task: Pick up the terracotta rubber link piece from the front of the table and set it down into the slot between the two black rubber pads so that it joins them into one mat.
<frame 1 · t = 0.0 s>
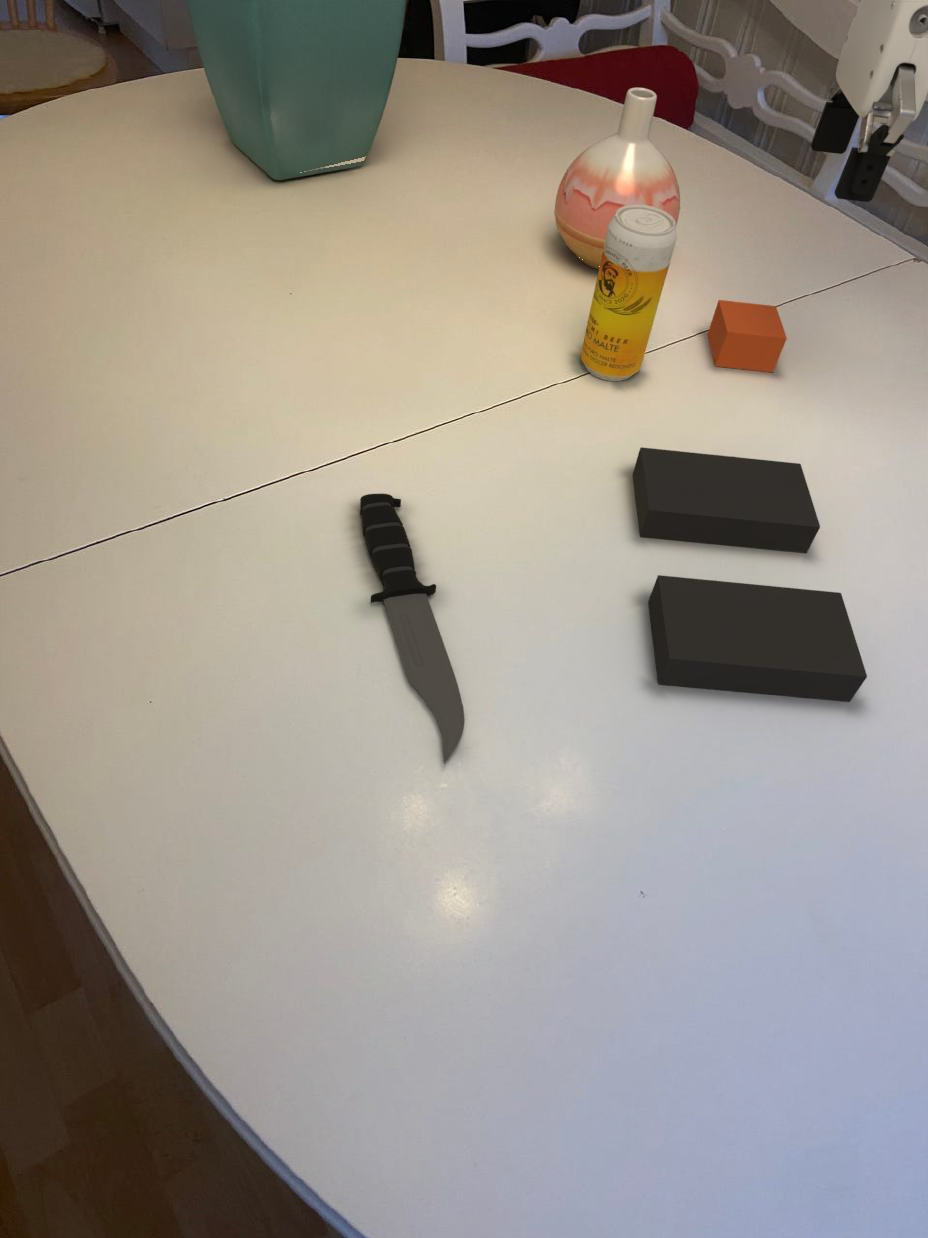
hand: (839, 173, 82), 19 cm above the table, tool pointing down, fingers open, 9 cm apart
knife: (410, 624, 68), on the table
flower pot: (299, 156, 117), on the table
vase: (605, 259, 107), on the table
link piece: (739, 352, 96), on the table
beer can: (608, 367, 92), on the table
pads: (730, 576, 74), on the table
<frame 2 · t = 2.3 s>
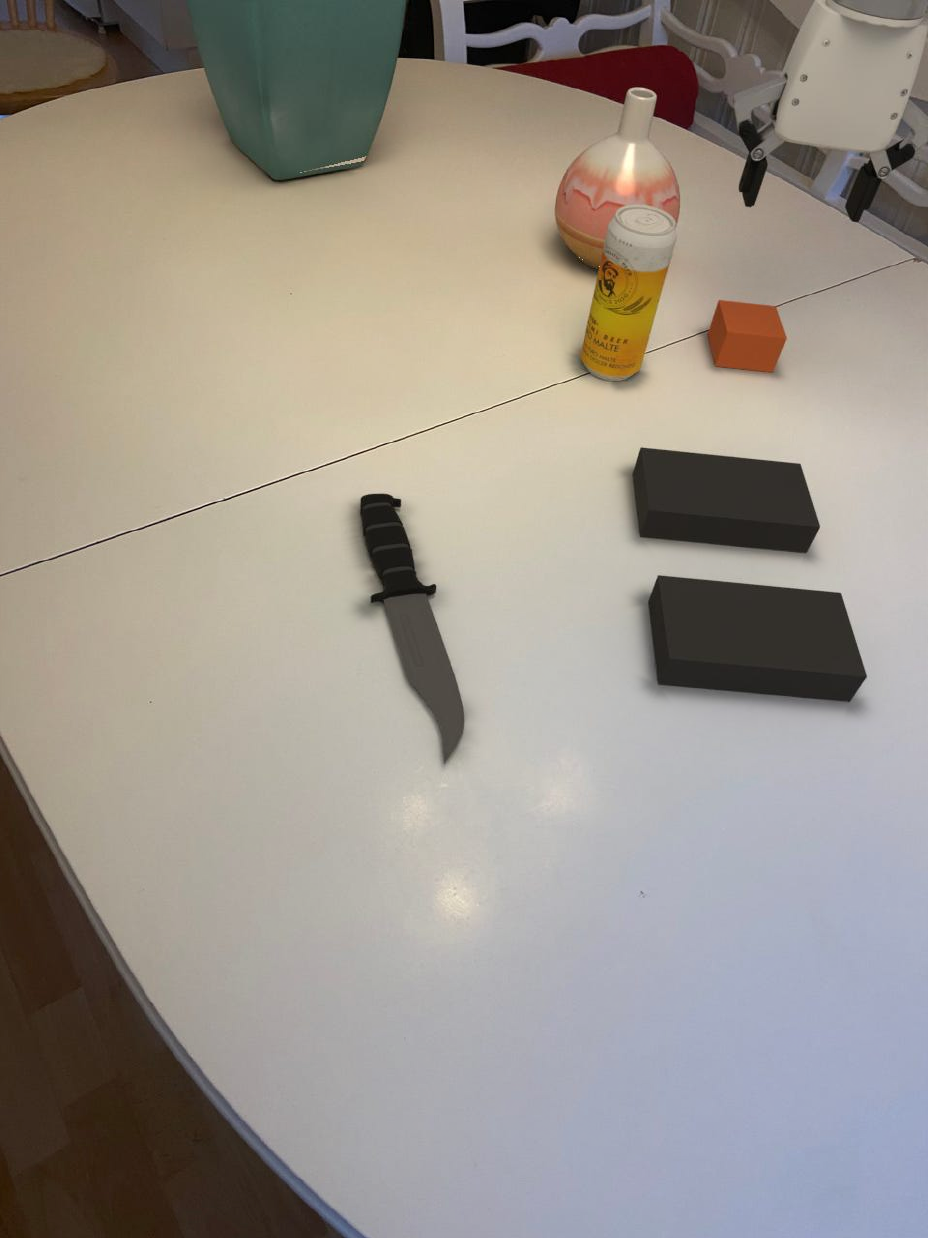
hand: (799, 207, 85), 15 cm above the table, tool pointing down, fingers open, 9 cm apart
nothing on the table moved.
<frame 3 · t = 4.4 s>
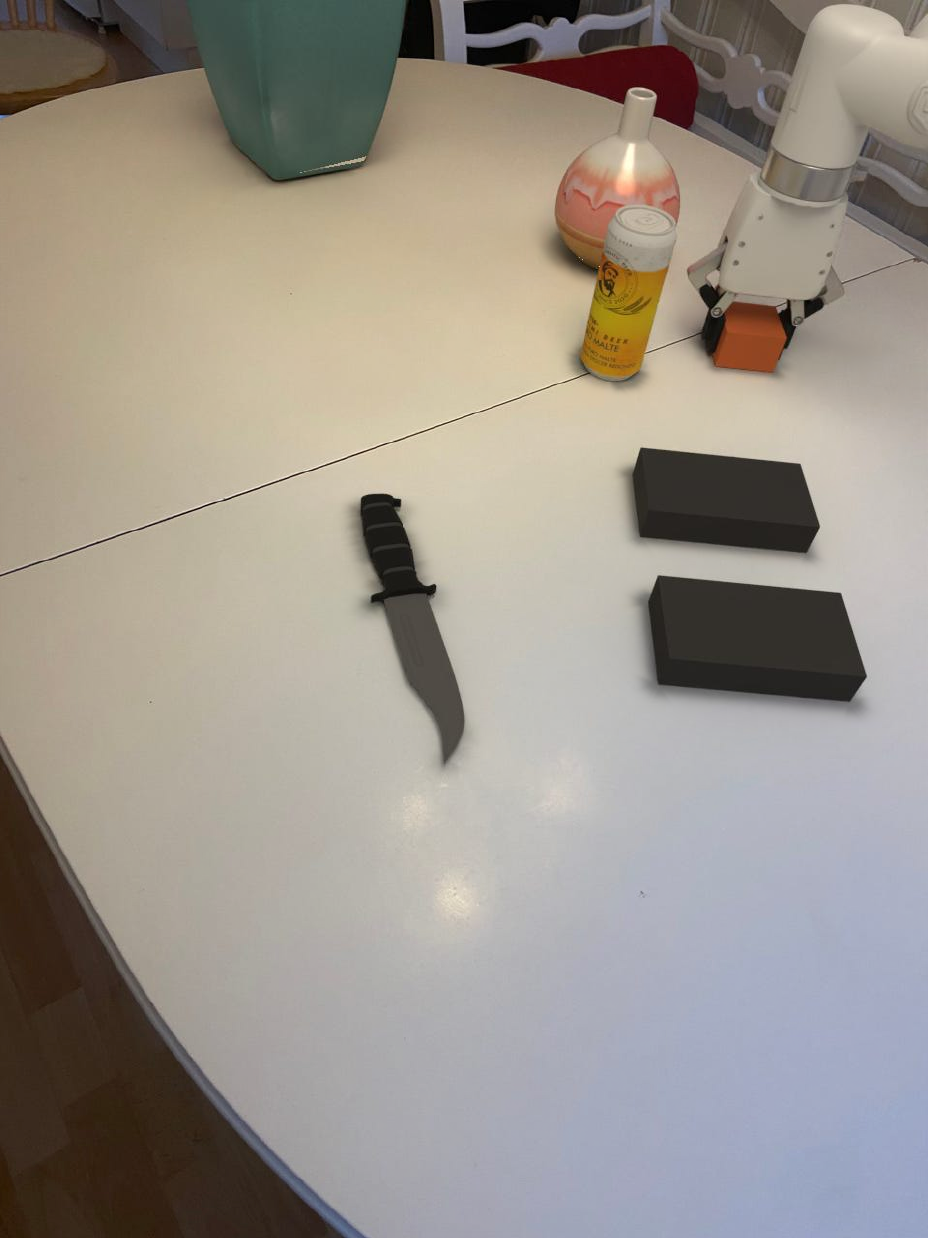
hand: (741, 347, 96), 1 cm above the table, tool pointing down, fingers closed on link piece, 6 cm apart
link piece: (739, 352, 96), on the table, touching gripper
everything else where it was.
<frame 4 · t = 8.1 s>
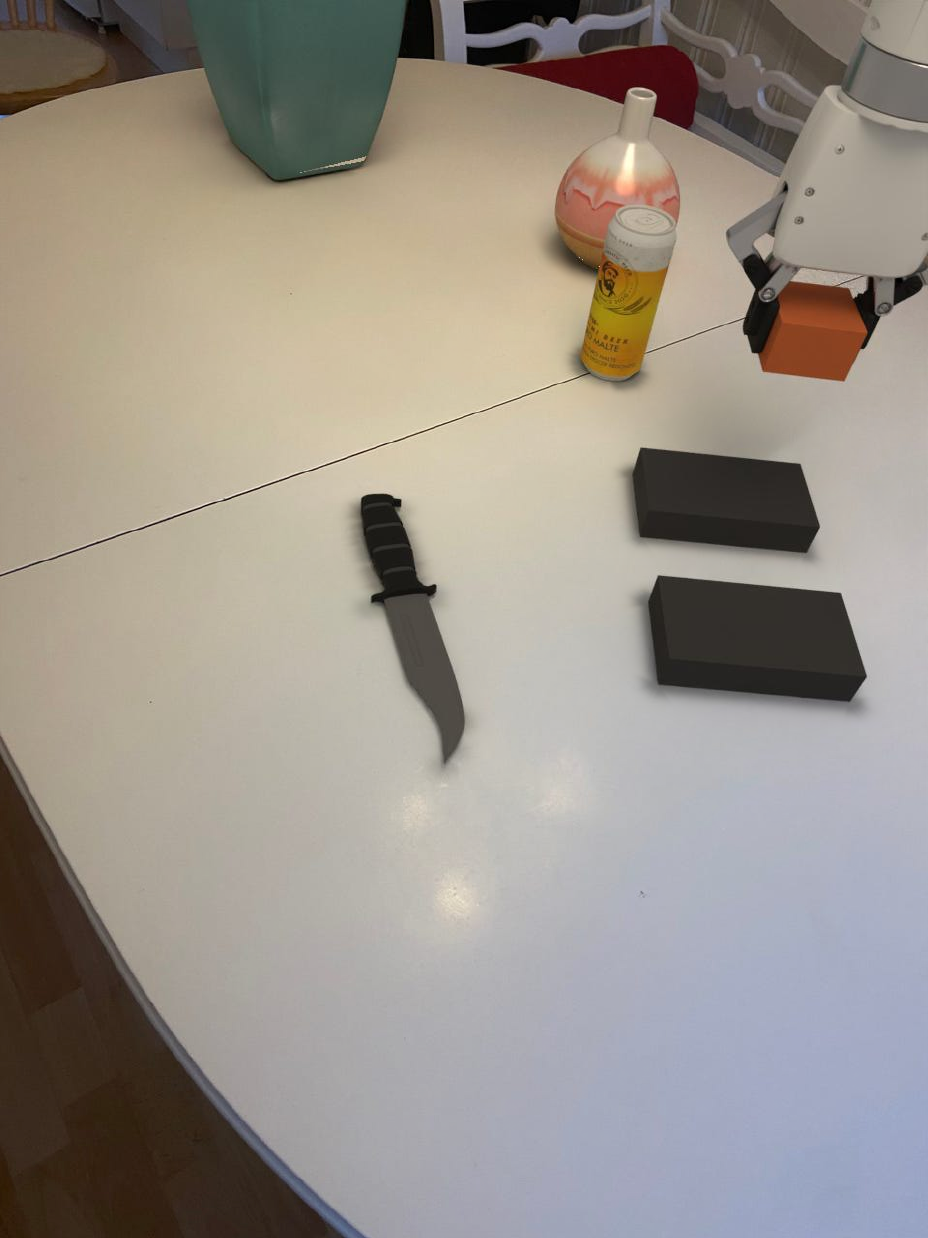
hand: (799, 346, 68), 16 cm above the table, tool pointing down, fingers closed on link piece, 6 cm apart
link piece: (796, 353, 68), point 15 cm above the table, touching gripper
everything else where it was.
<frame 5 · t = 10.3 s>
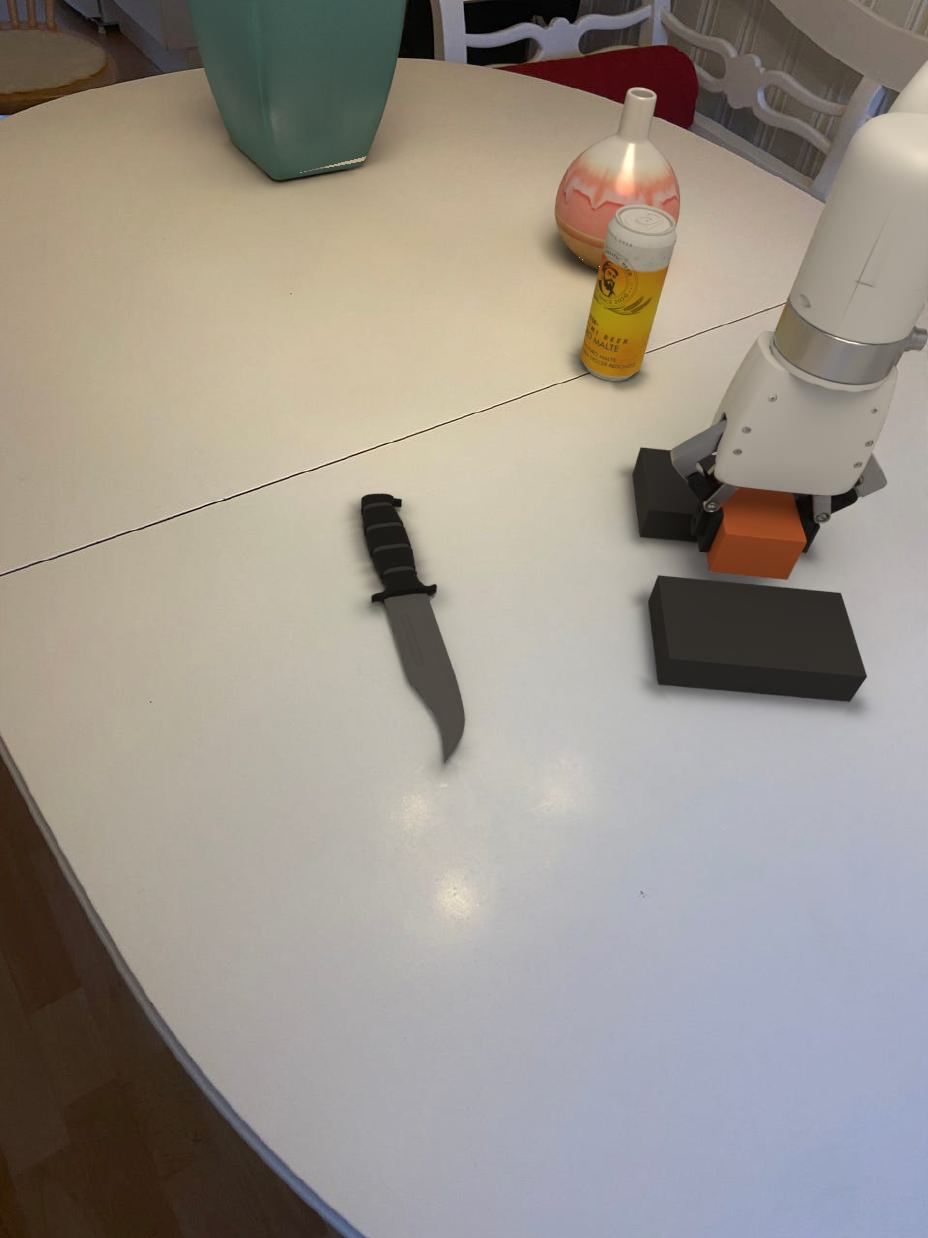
hand: (744, 542, 71), 4 cm above the table, tool pointing down, fingers closed on link piece, 6 cm apart
link piece: (741, 548, 71), point 3 cm above the table, touching gripper
everything else where it was.
when the fingers open (1 cm above the table, at t = 11.7 s): link piece stays where it is, on the table.
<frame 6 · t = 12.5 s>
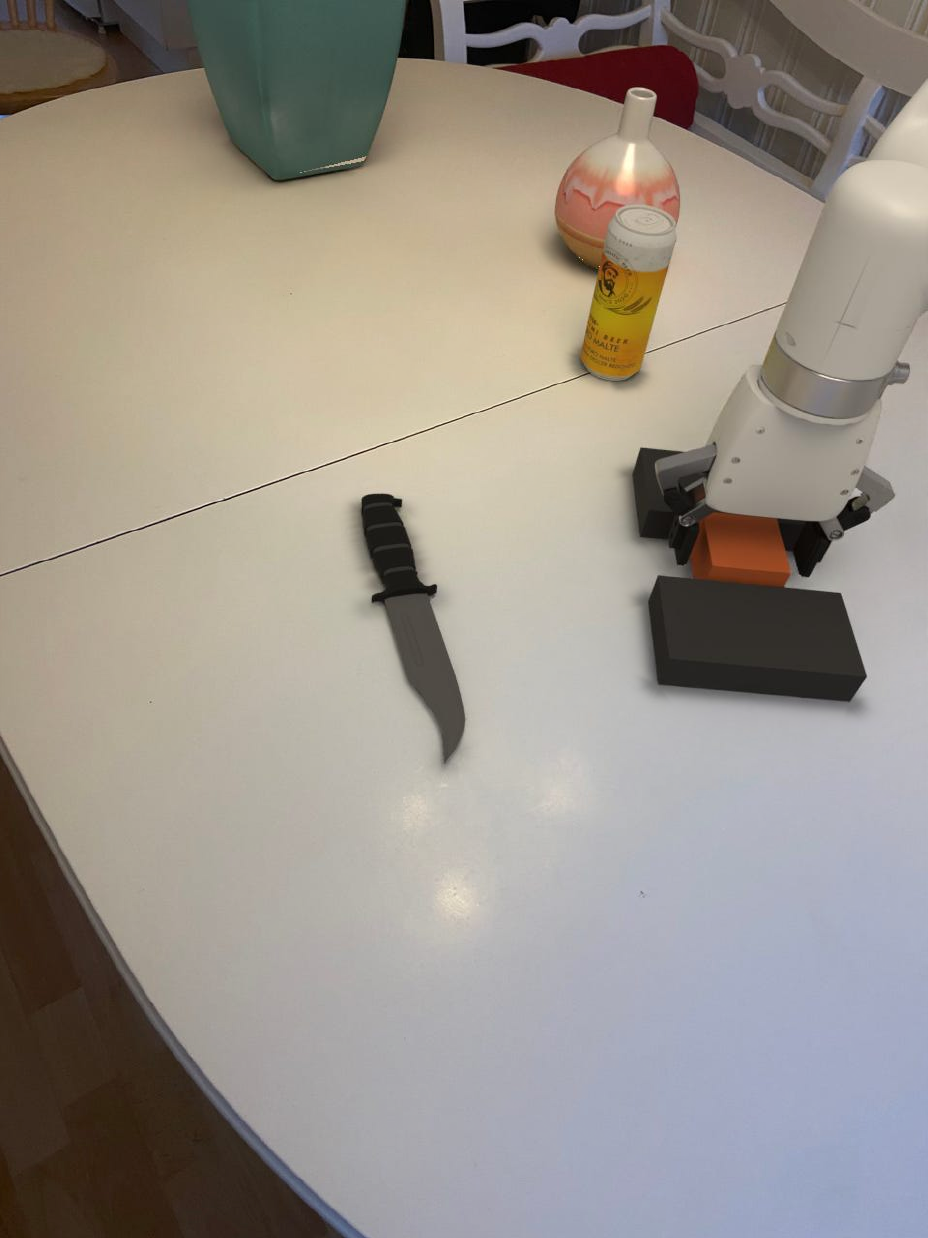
hand: (739, 558, 72), 2 cm above the table, tool pointing down, fingers open, 9 cm apart
link piece: (729, 576, 74), on the table
everything else where it was.
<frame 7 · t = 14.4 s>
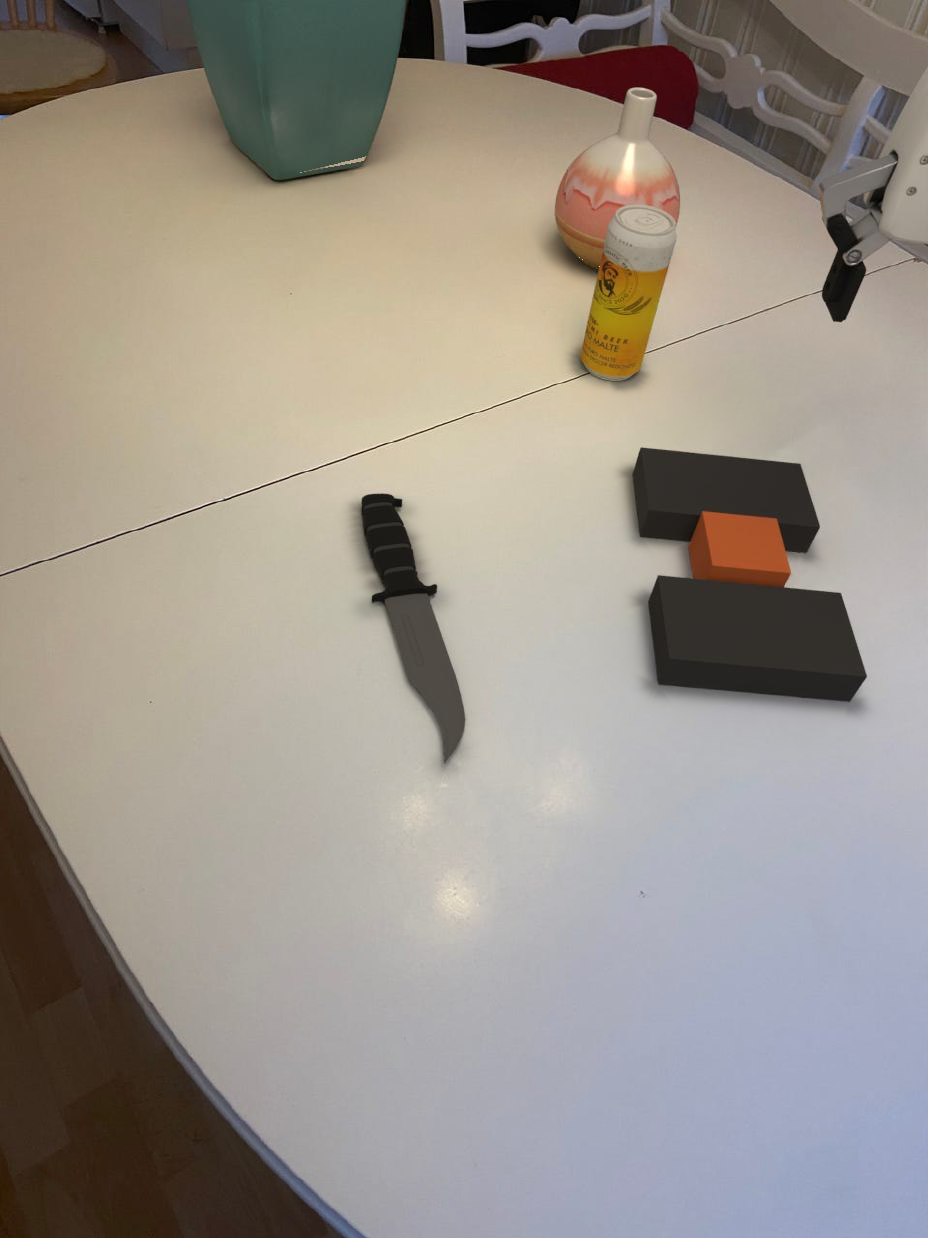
hand: (902, 316, 63), 20 cm above the table, tool pointing down, fingers open, 9 cm apart
nothing on the table moved.
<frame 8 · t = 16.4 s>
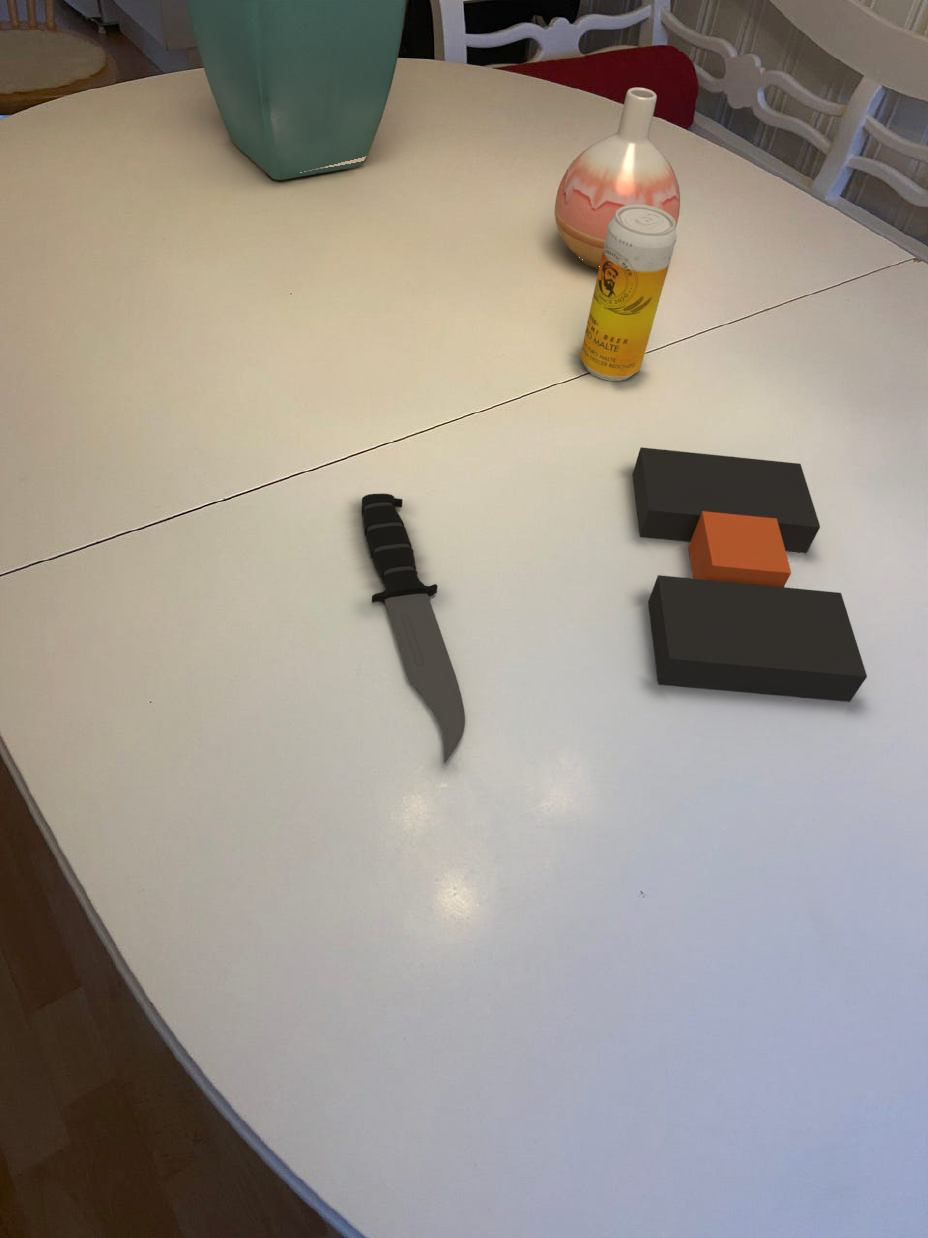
nothing on the table moved.
at the end: link piece 0.1 cm off-centre on the pads, point 0.0 cm above the pads's base; link piece tilted 0°; the gripper is holding nothing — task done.
